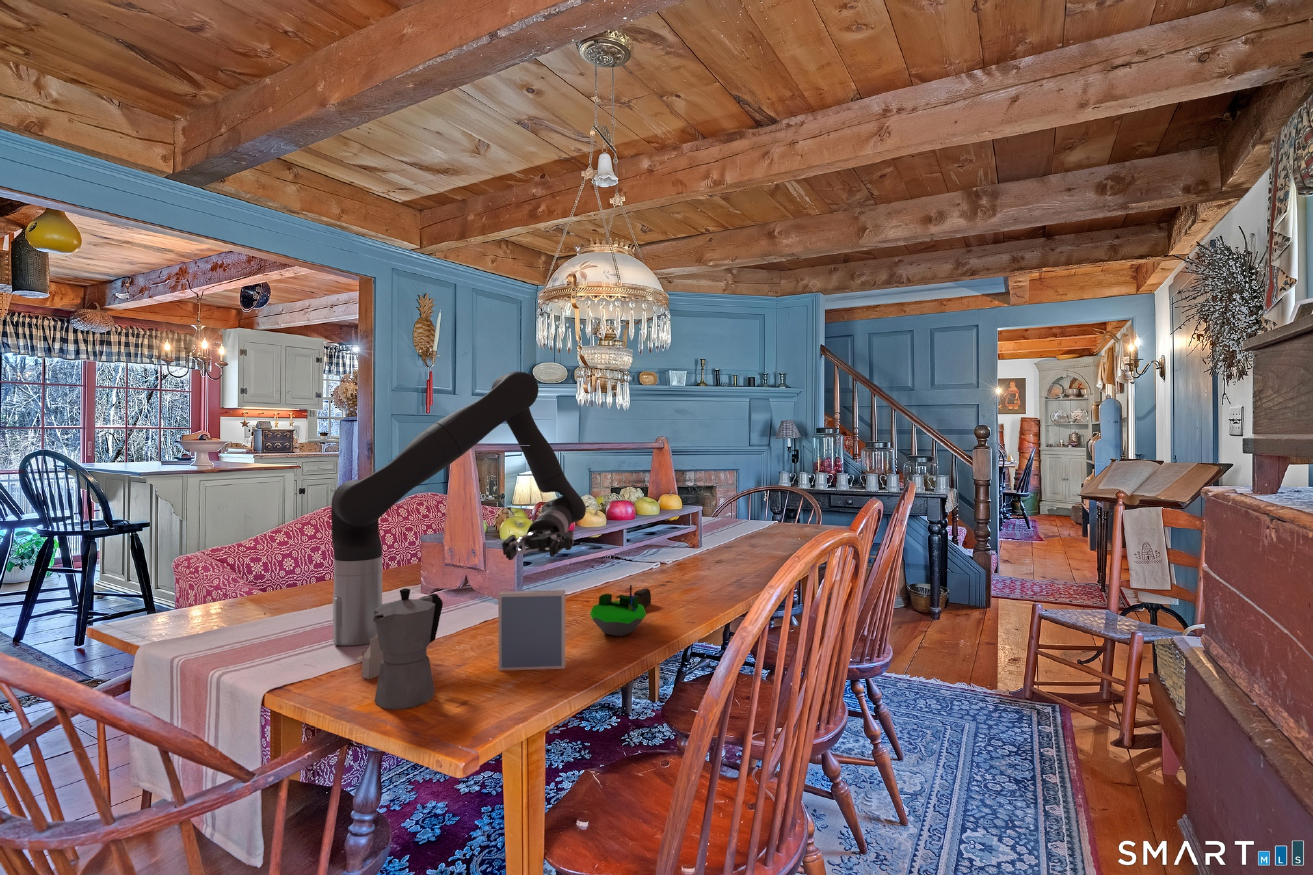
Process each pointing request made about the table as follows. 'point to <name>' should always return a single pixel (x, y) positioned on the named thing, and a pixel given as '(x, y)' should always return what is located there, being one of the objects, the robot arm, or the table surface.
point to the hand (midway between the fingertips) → (530, 553)
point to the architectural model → (371, 659)
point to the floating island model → (618, 614)
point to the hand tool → (643, 597)
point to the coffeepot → (406, 650)
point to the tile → (531, 630)
